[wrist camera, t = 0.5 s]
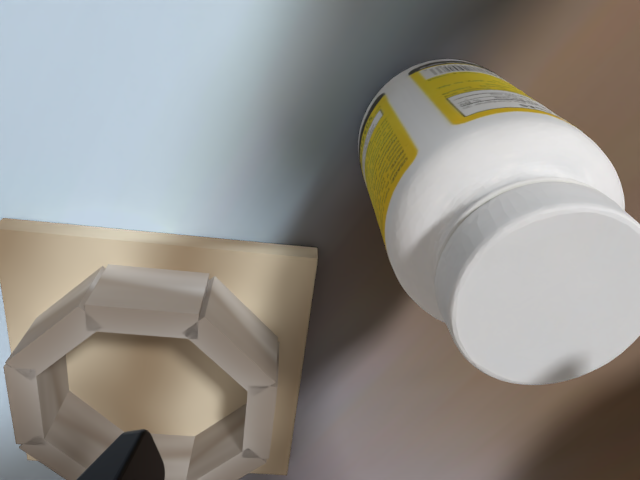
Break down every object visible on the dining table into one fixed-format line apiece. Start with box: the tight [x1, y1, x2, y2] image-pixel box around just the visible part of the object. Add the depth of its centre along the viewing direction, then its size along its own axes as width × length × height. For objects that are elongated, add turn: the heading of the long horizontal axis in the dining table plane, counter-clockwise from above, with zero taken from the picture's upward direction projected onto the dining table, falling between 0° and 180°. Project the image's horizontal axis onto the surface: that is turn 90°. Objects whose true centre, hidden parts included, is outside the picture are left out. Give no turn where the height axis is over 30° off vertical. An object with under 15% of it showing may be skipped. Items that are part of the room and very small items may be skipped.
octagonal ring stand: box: [0, 218, 318, 480], centre depth 21 cm, size 11×11×3 cm
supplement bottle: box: [358, 59, 640, 385], centre depth 15 cm, size 5×5×10 cm
